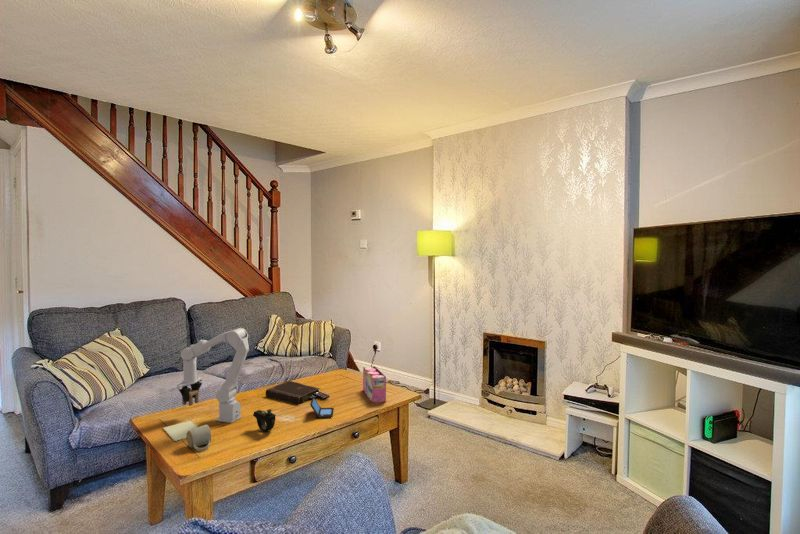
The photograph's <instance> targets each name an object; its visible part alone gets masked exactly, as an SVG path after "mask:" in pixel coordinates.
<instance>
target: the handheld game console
mask: <svg viewBox="0 0 800 534" xmlns="http://www.w3.org/2000/svg"><path fill="white" fill-rule="evenodd" d="M309 406H310V407H311V408H312V411H314V413H315V415H316V418H318V419H319V418H322V419H332V418H333V415H334V411H335V409H334V407H321V406H320V405H319V403H318V402H317V400H316V398H314V397H312V400H311V401H310V404H309ZM333 410H334V411H333ZM331 417H332V418H331Z"/></svg>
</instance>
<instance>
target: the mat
mask: <svg viewBox="0 0 800 534" xmlns="http://www.w3.org/2000/svg"><path fill="white" fill-rule="evenodd" d="M198 427H199V426H198V425H197V424H196V423H194V421H192V420H189V421H184V422H182V423H177V424H173V425H168V426H165V427H162V429H163V430H164V432H165V431H166V434H168V436H169V437H170V438H171V439H172V441H174V442H175V441H176V442H179V441H178V440H180V441H182V440H181V439H183V440H186V439H185V438H186V435H187V432H188V431H189V430H191V429H194V428H198Z"/></svg>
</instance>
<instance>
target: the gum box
mask: <svg viewBox="0 0 800 534" xmlns="http://www.w3.org/2000/svg"><path fill="white" fill-rule="evenodd" d="M362 370H363V371H362V377H363V378H362V390H363V392H364V394H367V395H366V396H367V398H368V397H369V398H370V399H369V398H368V399H369V401H372V402H375V403H384V402H386V401H387V376H386V375H385V374H384V373H382V371H381V370H379V369H378V368H377V367H376V366H374V365H373V366H372V367H365V366H364V367H362ZM383 401H384V402H383ZM372 402H371V403H372Z"/></svg>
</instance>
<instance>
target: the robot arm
mask: <svg viewBox="0 0 800 534" xmlns="http://www.w3.org/2000/svg"><path fill="white" fill-rule="evenodd" d="M248 338H249V334H248V332H247V330H246V329H245V328H243V327H238V328H235V329H231V330H228V331H226V332H223V333H221V334H219V335H216V336H215V337H212V338H211V339H210V340H206V339H200V340H198V342H196V343H194V344H191V345H189V347H185V348H184V349H182V350H181V351H180V358H181V359H182V362H183V364H182V366H183V367H182V369H183V373H182V374H183V380H182V382H180V383H178V384H177V385H176V390H178V392H179V393H180V395H181V398H182V397H183V400H184V402H186V403H187V402H188V400H189V391H190V389H192V390H198V393H199V391H200V389H201V387H202V385H203V383H202V382H203V380H204V378H203V376H198V377H197V375H198V374H197V358H198V357H199V356H201V355H203V354H206V353H207V352H209V351H210V350H211V349H212V347H213V346H215V345H218V344H220V343H222V342H224V343H228V344H229V345H230V346H231V347H232V348H234V350H235V353H234V356H233V359H232V362H231V364H230V368H229V369H228V373H227V376H226V378H225V381H224V382H223V384H222V385H221V387H220V389H219V390H218V391H217V393H216V394H215V398H216V400H217V402H218V416H219V417H217V418H216V419H215V420H214V421H215V422H223V423H229V424H231V423H234V422H236V421H237V420H239V419H241V418H243V417H242V414H241V413H242V409H241V408H242V405H241V402H239V401H238V400H236V395H237V394H238V385H239V383H238V380H239V378H240V374H241V372H242V369H243V366H244V364H245V361H246V358H247V356H248V353H249V350H250V346H249V339H248ZM188 386H190V387H188ZM193 399H195V395H193ZM188 403H189V402H188Z"/></svg>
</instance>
